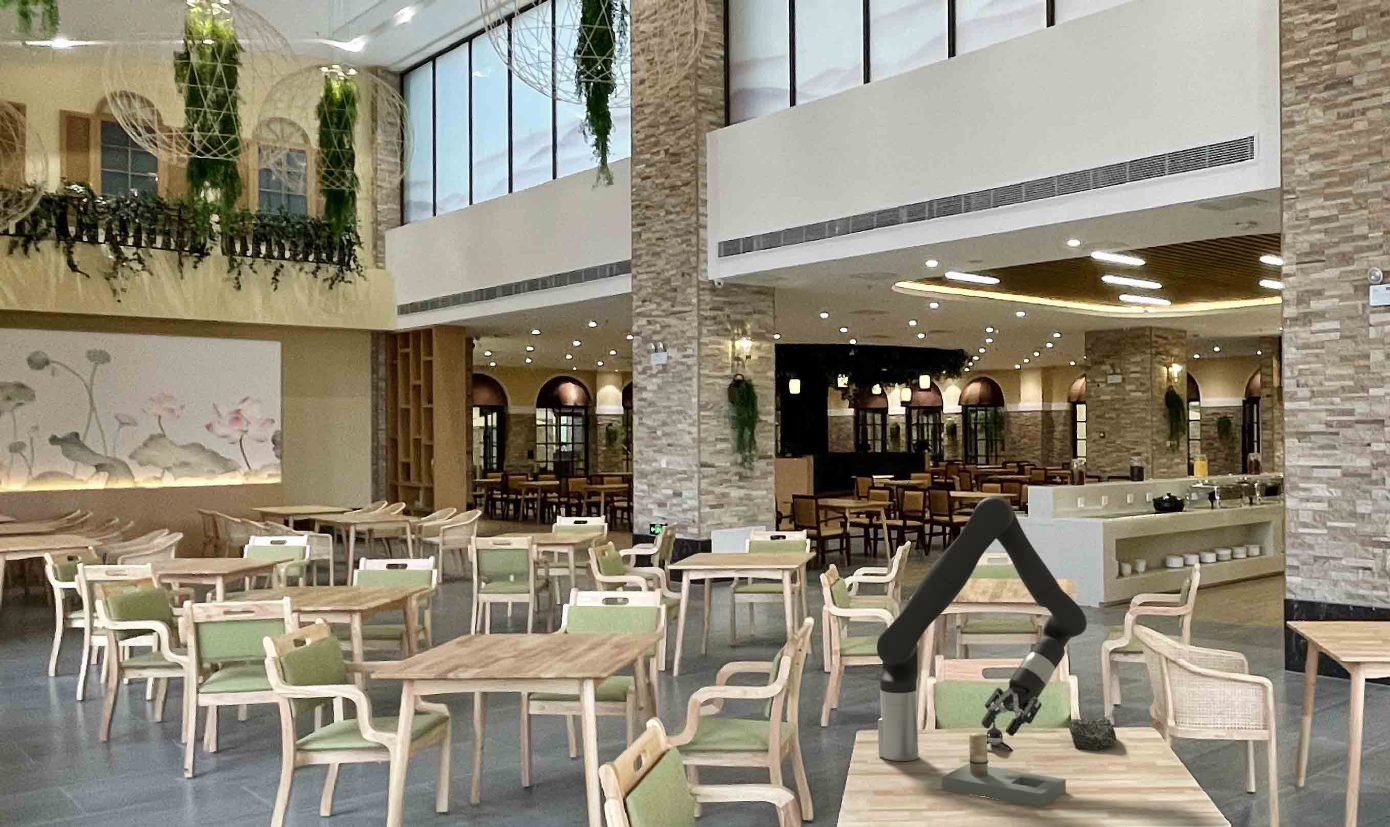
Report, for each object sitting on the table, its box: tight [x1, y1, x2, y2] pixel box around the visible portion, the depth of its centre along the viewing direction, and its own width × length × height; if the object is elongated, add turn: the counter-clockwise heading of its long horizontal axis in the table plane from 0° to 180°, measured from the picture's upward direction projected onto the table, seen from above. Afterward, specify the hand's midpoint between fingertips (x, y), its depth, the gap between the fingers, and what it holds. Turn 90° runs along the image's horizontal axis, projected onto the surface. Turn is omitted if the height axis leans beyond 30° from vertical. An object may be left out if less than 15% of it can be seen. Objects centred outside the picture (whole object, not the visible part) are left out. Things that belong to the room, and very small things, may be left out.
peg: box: [968, 732, 989, 776], centre depth 278 cm, size 4×4×9 cm
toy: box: [986, 720, 1014, 752], centre depth 316 cm, size 21×10×10 cm, turn 167°
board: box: [941, 762, 1067, 809], centre depth 274 cm, size 24×14×3 cm, turn 51°
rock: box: [1067, 716, 1118, 750], centre depth 314 cm, size 12×16×6 cm
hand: (996, 730), depth 280 cm, fingers open, 8 cm apart
